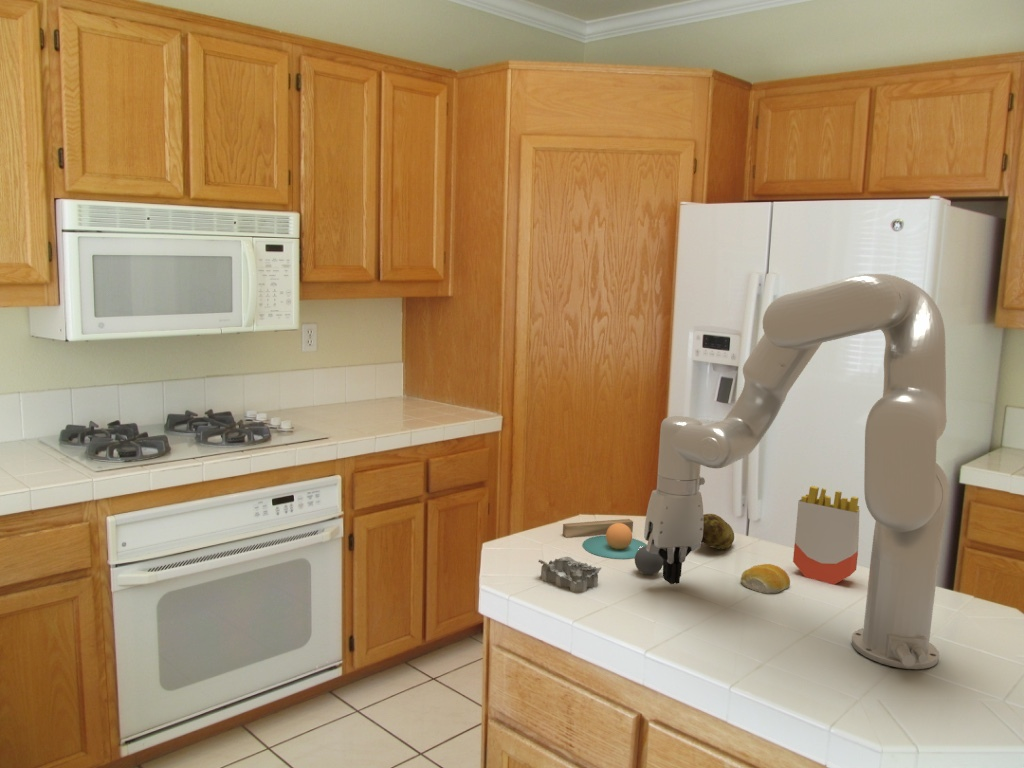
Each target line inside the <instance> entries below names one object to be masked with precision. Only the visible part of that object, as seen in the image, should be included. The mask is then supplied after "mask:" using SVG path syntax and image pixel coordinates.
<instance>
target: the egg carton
mask: <svg viewBox="0 0 1024 768" xmlns="http://www.w3.org/2000/svg"><path fill="white" fill-rule="evenodd" d="M538 563H540V564H541V570H540V578H541V580H542V581H543V582H546V583H548V582H553V583H555V586H556V587H559V588H561V587H565V588H566V587H567V588H569V591H570V592H573V593H579V592H580V593H586V592H587V591H588V590H587V589H588V588H597V587H599V586H598V582H599V572H601V570H602V567H596V566H592V565H589V564H588V563H587V562H584V563H583V562H581V561H578V560H575V559H573V558H572V557H570V556H561V557H559V558H555V559H554V560H553V561H552V560H550V561H549V562H548V563H547V562H545V561H543V560H542V559H538ZM562 572H565V573H566V575H560V574H559V573H562Z"/></svg>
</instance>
